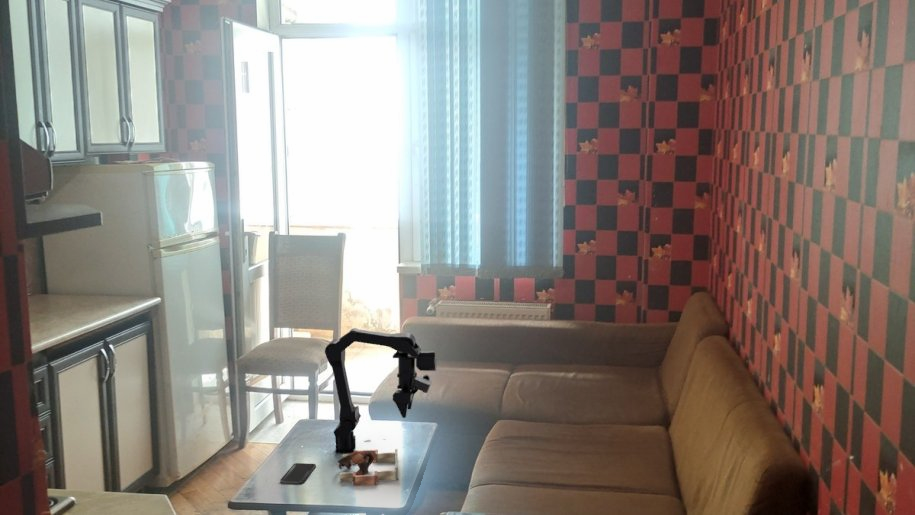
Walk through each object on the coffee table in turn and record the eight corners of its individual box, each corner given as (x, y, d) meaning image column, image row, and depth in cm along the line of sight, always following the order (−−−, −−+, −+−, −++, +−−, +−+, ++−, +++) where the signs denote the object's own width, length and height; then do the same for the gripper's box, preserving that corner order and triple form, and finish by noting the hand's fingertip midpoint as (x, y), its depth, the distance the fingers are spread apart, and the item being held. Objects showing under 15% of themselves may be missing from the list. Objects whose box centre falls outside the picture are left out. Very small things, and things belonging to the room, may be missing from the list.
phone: (279, 481, 263) (294, 463, 278) (279, 484, 264) (294, 466, 278) (303, 482, 262) (317, 463, 277) (303, 485, 263) (317, 467, 277)
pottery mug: (351, 483, 264) (339, 459, 265) (342, 486, 272) (331, 463, 273) (382, 465, 270) (371, 442, 271) (373, 468, 278) (362, 446, 279)
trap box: (339, 486, 260) (339, 474, 260) (343, 459, 282) (343, 448, 282) (398, 483, 262) (397, 471, 261) (397, 457, 284) (397, 446, 283)
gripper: (424, 378, 275) (424, 423, 277) (434, 363, 293) (434, 406, 296) (392, 377, 277) (392, 421, 279) (403, 362, 295) (403, 404, 297)
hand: (406, 413), depth 288 cm, fingers open, 9 cm apart
